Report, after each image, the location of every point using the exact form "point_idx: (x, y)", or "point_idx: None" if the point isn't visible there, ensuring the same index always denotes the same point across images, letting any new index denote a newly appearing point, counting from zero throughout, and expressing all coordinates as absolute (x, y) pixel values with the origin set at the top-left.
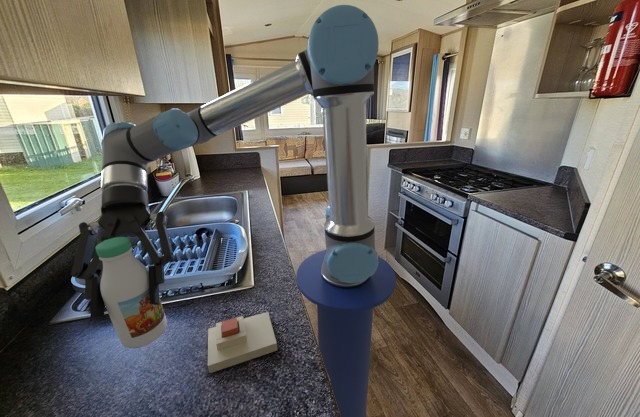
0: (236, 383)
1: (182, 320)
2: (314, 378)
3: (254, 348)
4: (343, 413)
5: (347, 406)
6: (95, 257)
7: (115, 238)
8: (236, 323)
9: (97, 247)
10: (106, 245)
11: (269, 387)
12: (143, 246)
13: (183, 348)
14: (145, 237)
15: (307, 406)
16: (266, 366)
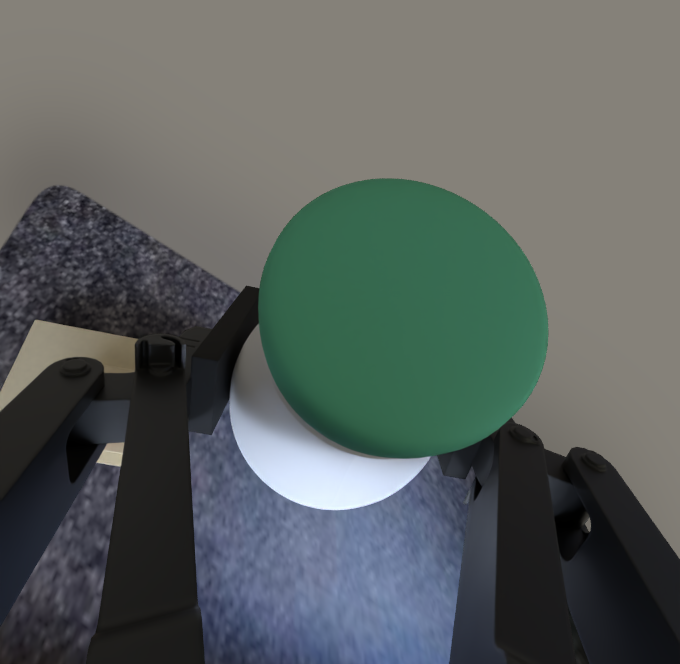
0: (169, 306)
1: (230, 595)
2: (32, 231)
3: (90, 335)
4: None
5: None
6: (536, 514)
7: (401, 385)
8: None
9: (523, 265)
10: (453, 248)
11: (118, 264)
12: (190, 478)
13: (246, 466)
14: (122, 561)
15: (81, 202)
16: (97, 306)
